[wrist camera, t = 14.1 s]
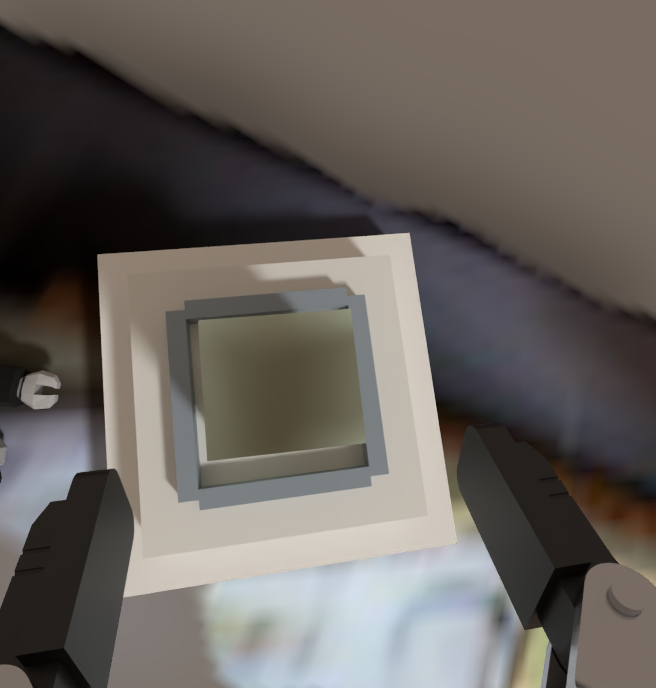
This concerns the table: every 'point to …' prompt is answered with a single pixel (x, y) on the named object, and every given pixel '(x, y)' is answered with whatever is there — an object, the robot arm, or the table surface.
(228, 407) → the block
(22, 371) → the robot toy
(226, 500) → the plinth
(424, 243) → the table surface
